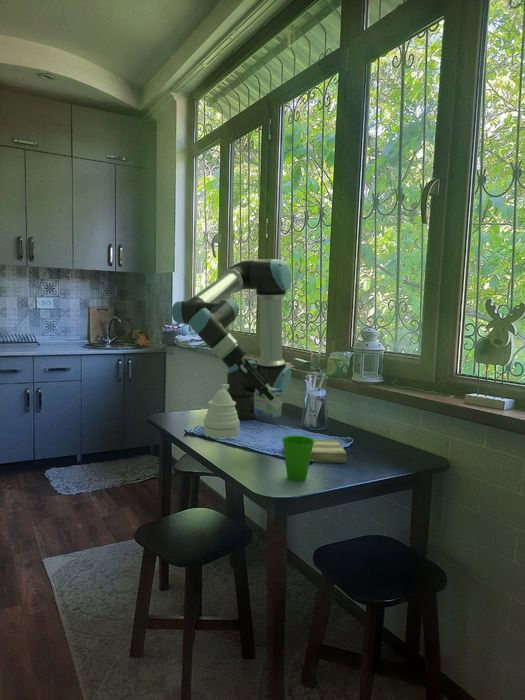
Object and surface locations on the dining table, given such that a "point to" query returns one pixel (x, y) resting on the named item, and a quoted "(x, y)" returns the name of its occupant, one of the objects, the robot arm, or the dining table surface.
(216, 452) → the dining table surface
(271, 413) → the medicine box
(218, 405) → the honey pot
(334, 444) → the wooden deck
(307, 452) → the cup
